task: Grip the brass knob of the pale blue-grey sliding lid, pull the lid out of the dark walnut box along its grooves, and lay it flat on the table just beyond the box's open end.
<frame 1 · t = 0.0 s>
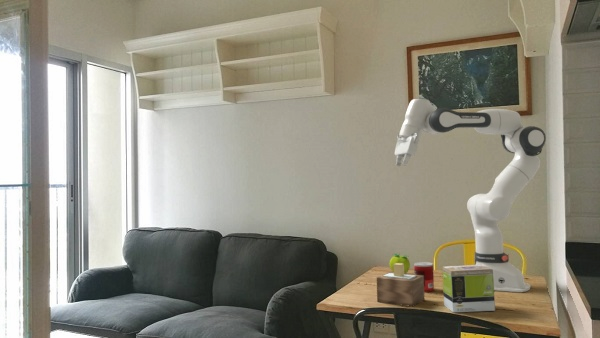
hand: (400, 165, 206), 52 cm above the table, tool tilted 20°, fingers open, 8 cm apart
fruit: (399, 275, 236), on the table
tea box: (468, 309, 174), on the table
lid: (399, 282, 187), point 7 cm above the table, touching box
canned food: (424, 290, 203), on the table
box: (401, 300, 187), on the table
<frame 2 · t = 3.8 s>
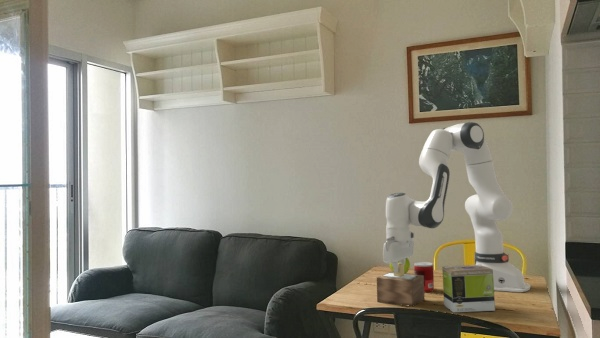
hand: (398, 271, 187), 11 cm above the table, tool pointing down, fingers closed on lid, 3 cm apart
lid: (399, 282, 187), point 7 cm above the table, touching box, gripper
everything else where it was.
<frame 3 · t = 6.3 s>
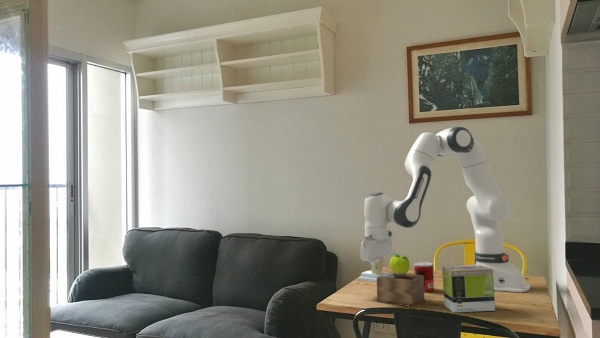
hand: (376, 269, 193), 11 cm above the table, tool pointing down, fingers closed on lid, 3 cm apart
lid: (377, 279, 193), point 7 cm above the table, touching gripper
everything else where it was.
when the fingers open (5 cm above the table, at t = 9.2 s): lid drops 1 cm, on the table.
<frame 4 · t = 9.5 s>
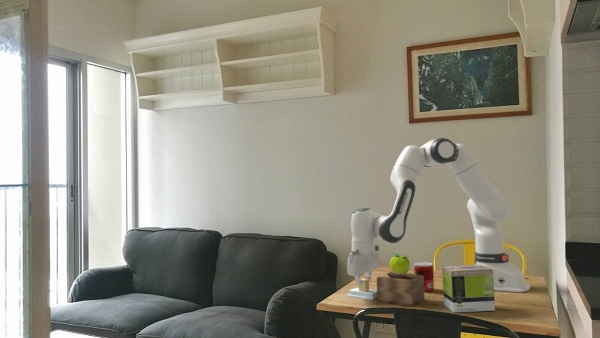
hand: (363, 283, 196), 5 cm above the table, tool pointing down, fingers open, 6 cm apart
lid: (364, 296, 196), on the table
everything else where it was.
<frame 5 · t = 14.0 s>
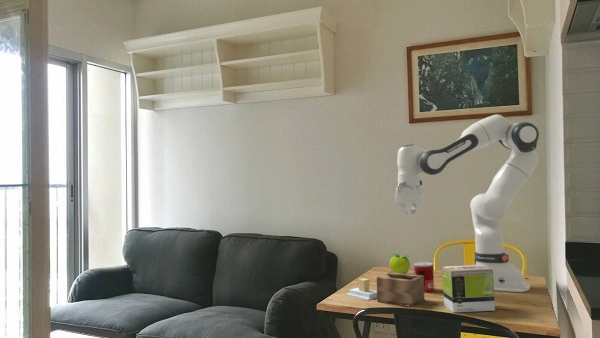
hand: (409, 214, 210), 31 cm above the table, tool pointing down, fingers open, 8 cm apart
at the end: lid inside the target area (0.6 cm from its centre), on the table; lid tilted 0°; the gripper is holding nothing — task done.
